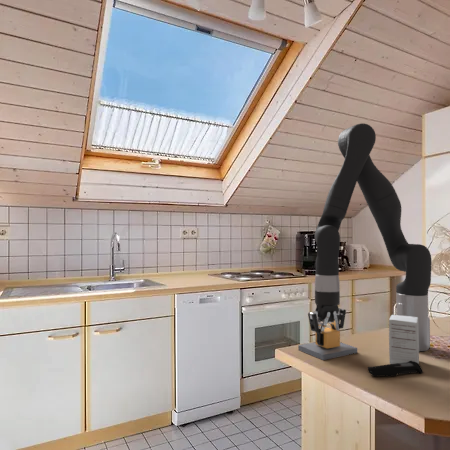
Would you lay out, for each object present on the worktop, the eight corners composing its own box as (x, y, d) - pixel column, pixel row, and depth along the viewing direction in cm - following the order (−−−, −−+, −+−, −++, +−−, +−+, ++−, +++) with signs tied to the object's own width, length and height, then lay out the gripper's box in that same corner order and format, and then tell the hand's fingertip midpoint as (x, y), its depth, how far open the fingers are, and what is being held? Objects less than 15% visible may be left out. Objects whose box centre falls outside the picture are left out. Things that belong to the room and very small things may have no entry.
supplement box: (391, 356, 113) (391, 314, 113) (419, 360, 109) (419, 316, 109) (388, 364, 106) (388, 319, 107) (418, 368, 103) (417, 322, 103)
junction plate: (331, 343, 126) (331, 330, 126) (357, 352, 116) (357, 338, 116) (298, 349, 119) (298, 335, 119) (322, 360, 110) (322, 344, 110)
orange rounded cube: (327, 341, 121) (327, 327, 121) (340, 346, 117) (339, 331, 117) (315, 344, 119) (315, 329, 119) (327, 348, 114) (327, 333, 114)
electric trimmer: (364, 376, 99) (364, 363, 99) (413, 369, 103) (413, 357, 103) (373, 381, 95) (373, 369, 95) (424, 374, 99) (424, 362, 99)
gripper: (335, 286, 125) (335, 337, 125) (301, 289, 118) (301, 344, 118) (352, 289, 118) (353, 343, 118) (318, 292, 112) (318, 350, 111)
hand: (327, 343), depth 118 cm, fingers closed on orange rounded cube, 5 cm apart
